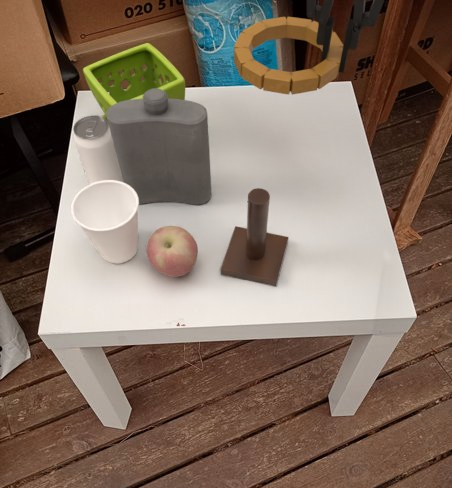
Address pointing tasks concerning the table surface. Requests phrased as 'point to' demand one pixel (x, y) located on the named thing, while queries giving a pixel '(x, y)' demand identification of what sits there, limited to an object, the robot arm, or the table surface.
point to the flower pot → (133, 76)
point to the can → (96, 149)
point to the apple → (172, 251)
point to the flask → (162, 147)
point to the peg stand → (255, 245)
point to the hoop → (282, 79)
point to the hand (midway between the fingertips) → (332, 65)
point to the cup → (109, 218)
